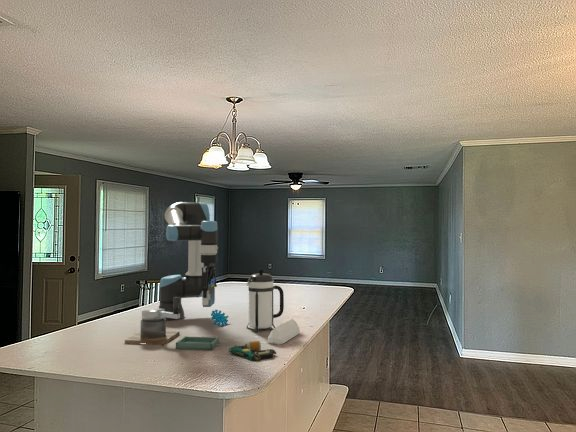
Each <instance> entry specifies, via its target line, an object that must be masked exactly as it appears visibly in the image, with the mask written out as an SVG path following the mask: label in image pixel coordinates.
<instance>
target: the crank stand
mask: <svg viewBox="0 0 576 432" xmlns="http://www.w3.org/2000/svg"><path fill="white" fill-rule="evenodd" d="M179 335H181V332H180V330H175V331H174V330H167V320H166V319H164V320H161V321H155V322H145V321H142V319H140V331H139V332H137V333H135V334H133V335H131V336H130V337H128V338H126V339H124V344H125V343H146V344H145V345H154V344H165V345H166V344H168V343H169V342H171V341H173V340H174V339H175V338H177V337H178V336H179ZM170 340H171V341H170ZM167 342H168V343H167Z"/></svg>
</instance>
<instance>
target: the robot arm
mask: <svg viewBox="0 0 576 432" xmlns="http://www.w3.org/2000/svg"><path fill="white" fill-rule="evenodd" d="M164 219H165V221H166V222H167V223H168V225H167V226H166V234H165V235H166V240H167V241H168V242H169V241H173V242H182V241H183V242H184V241H188V248H187V249H188V253H187V257H188V260H187V261H188V263H187V265H188V267H187V268H188V269H187V272H186V273H185V277H184V276H183V277H182V275H181V274H172V275H167V276H163V277H161V279H160V281H159V306H158V308H160V309H165V312H172V313H173V297H179V313H180V318H179V319H178V320H181V319H184V318H185V311H184V307H183V304H182V299H187V298H188V299H190V298H202V299H201V302H202V303H201V305H202V306H203V305H209V290H208V285H210V284H211V279H213V278H215V282H214V302H215V301H216V288H217V287H218V286H217V285H218V284H217V276H216V275H217V273H216V272H217V271H216V268H217V267H216V266H217V265H216V263H217V262H218V255H217V254H218V250H219V247H218V222H217V221H215V220H211V215H210V208H209V206H208V204H207V203H206V202H202V201H201V202H200V201H194V202H191V201H188V202H187V201H184V202H183V201H179V202H175V203H172V204H171V205H169V206H168V207H167V208H166V209H165V211H164ZM212 282H213V281H212ZM165 319H166V321H176V320H177V319H174V318H167V317H165Z"/></svg>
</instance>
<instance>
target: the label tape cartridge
mask: <svg viewBox="0 0 576 432" xmlns="http://www.w3.org/2000/svg"><path fill="white" fill-rule="evenodd" d="M212 281H213V282H212ZM214 282H215V278H213V279H211V284H210V285H208V290H209V305H202V307H203V308H211V307H212V306H213V305H214V304H215V301H214Z"/></svg>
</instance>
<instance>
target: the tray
mask: <svg viewBox="0 0 576 432" xmlns="http://www.w3.org/2000/svg"><path fill="white" fill-rule="evenodd" d="M219 344H220V337H216V336H214V337H211V336H183V337H182V338H181V339H179V340H177V341H176V342H175V349H176V350H201V351H214V349H215V348H216V347H217V346H218V345H219Z"/></svg>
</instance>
